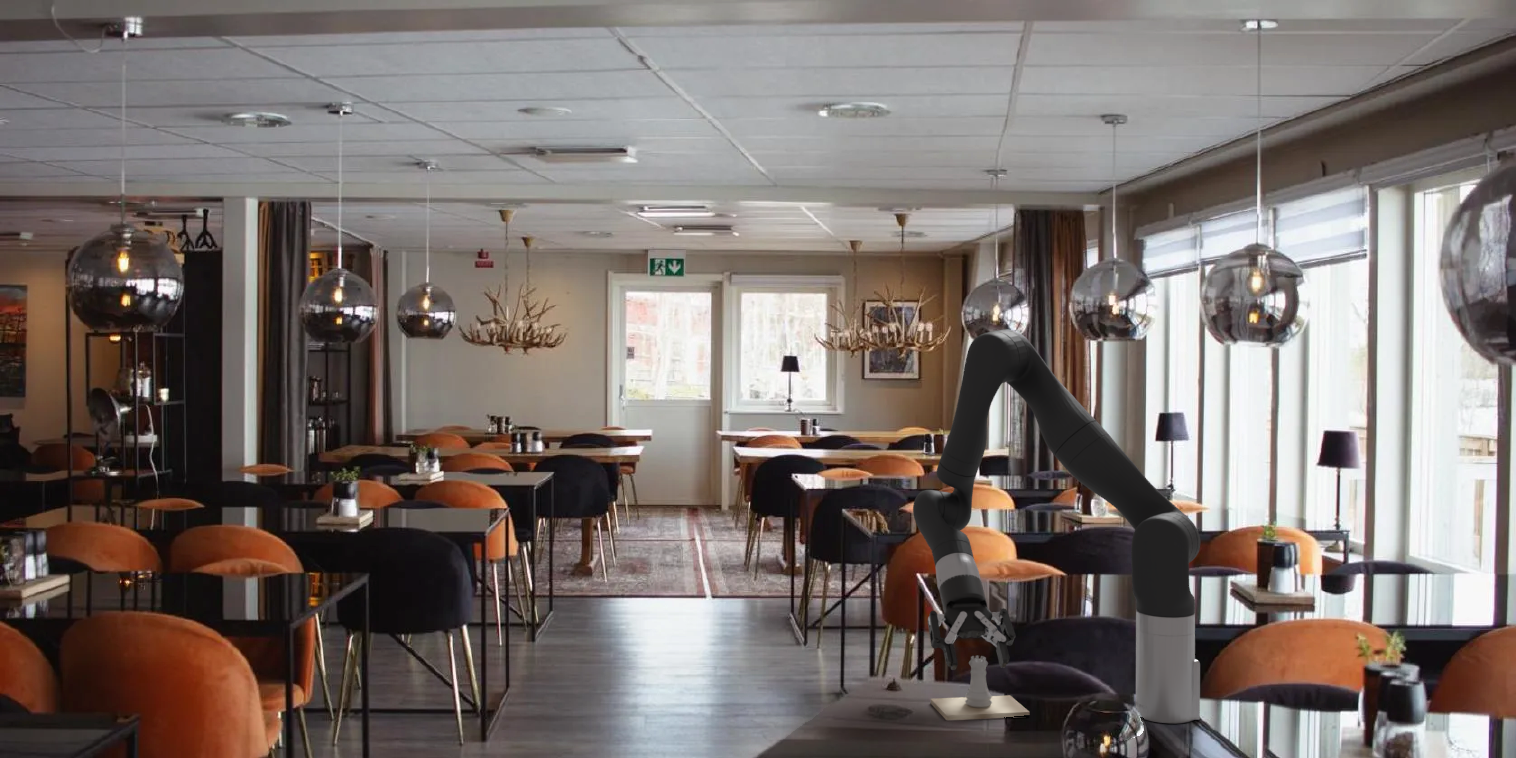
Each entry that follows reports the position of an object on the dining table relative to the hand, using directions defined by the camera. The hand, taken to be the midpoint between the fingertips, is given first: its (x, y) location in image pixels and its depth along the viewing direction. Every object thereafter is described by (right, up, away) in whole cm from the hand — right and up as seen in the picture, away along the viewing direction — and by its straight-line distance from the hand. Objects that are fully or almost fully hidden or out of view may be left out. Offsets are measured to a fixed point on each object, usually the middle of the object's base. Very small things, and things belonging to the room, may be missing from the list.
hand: (979, 666), depth 217 cm
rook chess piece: (0, -7, +1) cm, 7 cm away
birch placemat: (0, -7, 0) cm, 7 cm away
